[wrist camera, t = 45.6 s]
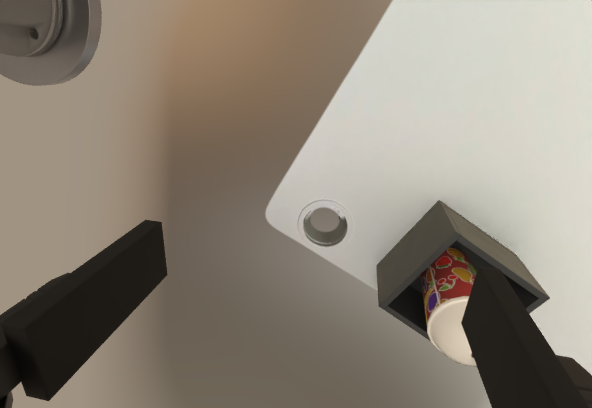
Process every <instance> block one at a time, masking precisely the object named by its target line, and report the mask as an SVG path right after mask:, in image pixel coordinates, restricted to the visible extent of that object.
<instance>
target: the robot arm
mask: <svg viewBox="0 0 592 408" xmlns="http://www.w3.org/2000/svg"><path fill="white" fill-rule="evenodd" d="M62 19H63V4H62V0H0V53H2V54H5V55H9V56H20V57H31V56H37V55H40V54H42V53H44V52H45V51H47V50H48V49H49V48H50V47H51V46H52V45H53V44H54V42H55V41H56V39H57V37H58V35H59V33H60V29H61V25H62ZM166 275H167V267H166V258H165V250H164V240H163V231H162V223H161V222H157V221H150V220H145V221H143V222H142V223H140V224H139V225H138V226H136V227H135V228H133V229H132V230H131V231H129V232H128V233H126V234H125V235H124V236H122V237H121V238H120V239H118V240H117V241H115V242H114V243H112V244H111V245H110V246H108V247H107V248H105V249H104V250H103V251H101V252H100V253H98V254H97V255H96V256H94V257H93V258H91V259H90V260H88V261H87V262H86V263H84V264H83V265H82V266H80V267H79V268H77V269H76V270H75V271H73V272H72V273H67V274H64V275H62V276H60V277H57V278H55V279H52V280H51V281H49V282H48V283H46V284H45V285H43V286H42V287H41V288H39V289H38V291H35V292H33V293H32V294H30V295H29V296H27V298H26V299H23V300H22V301H20V302H19V303H17V304H16V305H14V306H13V307H11V308H10V309H9V310H7V311H6V312H4V313H3V314H2V315H0V408H12V403H13V397H12V393H11V390H12V389H14V387H16V386H17V385H18V384H19V383H20V382H22V385H23V387H24V390H25V393H26V396H29V397H34V398H38V399H42V400H46V401H49V400H50V399H51V398H52V397H53V396H54V395H55V394H56V393H57V392H58V391H59V390H60V389H61V388H62V387H63V385H64V384H65V383H66V382H67V381H68V380H69V379H70V378H71V377H72V376H73V375H74V374H75V373H76V372H77V370H78V369H79V368H80V367H81V366H82V365H83V364H84V363H85V362H86V361H87V360H88V359H89V358H90V357H91V356H92V355H93V353H94V352H95V351H96V350H97V349H98V348H99V347H100V346H101V345H102V344H103V343H104V342H105V341H106V340H107V339H108V337H109V336H110V335H111V334H112V333H113V332H114V331H115V330H116V329H117V328H118V327H119V326H120V325H121V324H122V322H123V321H124V320H125V319H126V318H127V317H128V316H129V315H130V314H131V313H132V312H133V311H134V310H135V309H136V308H137V307H138V305H139V304H140V303H141V302H142V301H143V300H144V299H145V298H146V297H147V296H148V295H149V294H150V293H151V292H152V290H153V289H154V288H155V287H156V286H157V285H158V284H159V283H160V282H161V281H162V280H163V279H164V278H165V277H166ZM461 324H462V327H463V329H464V332H465V335H466V338H467V340H468V343H469V346H470V349H471V351H472V354H473V357H474V359H475V362H476V365H477V368H478V370H479V373H480V376H481V378H482V381H483V384H484V387H485V390H486V392H487V395H488V398H489V400H490V403H491V406H492V408H592V376H591V374H590V373H589V372H587V371H586V370H585V369H584V368H583V367H582V366H581V365H579V364H578V363H577V362H576V361H575V360H574V359H573V358H569V357H563V356H558V355H555V353H554V352H553V350H552V349H551V347H550V346H549V344H548V342H547V341H546V339H545V338H544V336H543V335H542V333H541V332H540V330H539V329H538V327H537V326H536V324H535V322H534V321H533V319H532V318H531V316H530V315H529V313H528V312H527V310H526V309H525V307H524V305H523V304H522V302H521V301H520V299H519V298H518V296H517V295H516V293H515V292H514V290H513V289H512V287H511V285H510V284H509V282H508V281H507V279H506V278H505V276H504V275H503V273H502V272H501V270H500V269H495V268H488V267H480V266H478V269H477V273H476V276H475V279H474V283H473V286H472V289H471V292H470V296H469V299H468V302H467V305H466V309H465V312H464V315H463V318H462V322H461Z"/></svg>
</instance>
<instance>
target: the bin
mask: <svg viewBox="0 0 592 408" xmlns="http://www.w3.org/2000/svg"><path fill="white" fill-rule="evenodd" d="M449 247H451V248H455V249H458V250H459V251H461V252H463V253H464V254H465V255H466V256H467V257H468V259H469V260H470V262H471V263H472V265H473V266H474V268H475V269H476V271H477V269H478V266H480V267H488V268H495V269H500V270H501V272H502V273H503V275H504V276H505V278H506V279H507V281H508V282H509V284H510V285H511V287H512V289H513V290H514V292H515V293H516V295H517V296H518V298H519V299H520V301H521V302H522V304H523V305H524V307H525V309H526V310H527V312H528V313H531V312H532V311H533V310H535V309H536V308H537V307H539V306H540V305H541V304H543V303H544V302H545V301H547V300H548V299H550V297H549V296H548V295H547V294H546V292H545V291H544V290H543V288H542V287H541V286H540V285H539V283H538V282H537V281H536V279H535V278H534V277H533V276H532V274H531V273H530V272H529V270H528V269H527V268H526V267H525V265H524V264H523V263H522V262H521V260H520V259H519V258H518V257H517V255H516V254H514V253H513V252H512V251H510V250H509V249H507V248H506V247H505V246H503V245H502V244H500V243H499V242H497V241H496V240H495V239H493V238H492V237H490V236H489V235H488V234H486V233H485V232H483V231H482V230H481V229H479V228H478V227H476V226H475V225H474V224H472V223H471V222H469V221H468V220H466V219H465V218H464V217H462V216H461V215H459V214H458V213H457V212H455V211H454V210H452V209H451V208H450V207H448V206H447V205H445V204H444V203H442V202H441V201H440V200H439V201H438V202H437V203H436V204H435V205H434V206H433V207H432V208H431V209H430V210H429V211H428V212H427V213H426V214H425V215H424V216H423V217H422V219H421V220H420V221H419V222H418V223H417V224H416V225H415V226H414V227H413V228H412V229H411V230H410V231H409V232H408V233H407V234H406V235H405V236H404V237H403V238H402V239H401V240H400V242H399V243H398V244H397V245H396V246H395V247H394V248H393V249H392V250H391V251H390V252H389V253H388V254H387V255H386V256H385V257H384V258H383V259H382V260H381V261H380V262H379V263H378V265H377V282H378V300H379V301H378V302H379V307H381V308H382V309H384V310H385V311H387V312H388V313H390V314H392V315H393V316H394V317H396V318H397V319H399V320H400V321H402V322H403V323H405V324H406V325H408V326H409V327H411V328H412V329H414V330H415V331H417V332H418V333H419V334H421V335H422V336H424V337H425V338H427V339H428V340H430V339H429V336H428V333H427V322H426V315H425V308H424V300H423V293H422V286H421V279H420V274H421V273H423V272H424V271H425V270H426V269H427V268H428V267H429V266H430V265H431V264H432V263H433V262H434V261H435V260H436V259H437V258H438V257H439V256H440V255H441V254H443V253H444V252H445V251H446V250H447V249H448V248H449Z"/></svg>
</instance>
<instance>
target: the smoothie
mask: <svg viewBox="0 0 592 408" xmlns="http://www.w3.org/2000/svg"><path fill="white" fill-rule="evenodd" d="M476 273H477V271H476V269H475V268H474V266H473V265H472V263H471V262H470V260H469V259H468V257H467V256H466V255H465V254H464V253H463V252H461V251H459V250H458V249H455V248H451V247H449V248H448V249H447V250H446V251H445V252H444V253H443V254H441V255H440V256H439V257H438V258H437V259H436V260H435V261H434V262H433V263H432V264H431V265H430V266H429V267H428V268H427V269H426V270H425V271H424V272H423V273H421V274H420V279H421V286H422V293H423V300H424V308H425V315H426V322H427V333H428V336H429V339H430V341H431V342H432V344H434V346H435V347H436V348H437V349H438V350H440V351H441V352H443V353H444V354H445V355H446V356H447V357H449V358H451V359H452V360H454V361H455V362H457V363H460V364H463V365H467V366H477V365H476V362H475V359H474V357H473V354H472V351H471V349H470V346H469V343H468V340H467V338H466V335H465V332H464V329H463V327H462V324H461V322H462V318H463V315H464V312H465V309H466V305H467V302H468V299H469V296H470V292H471V289H472V286H473V283H474V279H475V276H476Z"/></svg>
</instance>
